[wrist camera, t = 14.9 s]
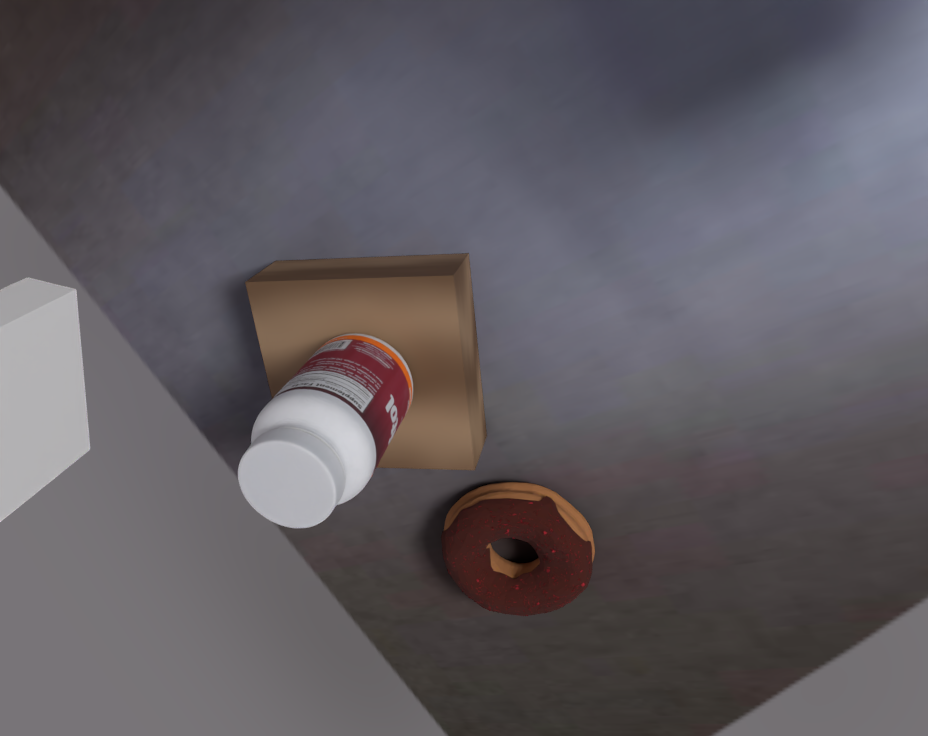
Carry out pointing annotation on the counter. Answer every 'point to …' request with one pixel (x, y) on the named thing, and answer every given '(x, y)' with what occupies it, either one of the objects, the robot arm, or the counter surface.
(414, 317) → the tan flat block
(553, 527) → the donut
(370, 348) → the pill bottle
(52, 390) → the robot arm
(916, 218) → the counter surface
